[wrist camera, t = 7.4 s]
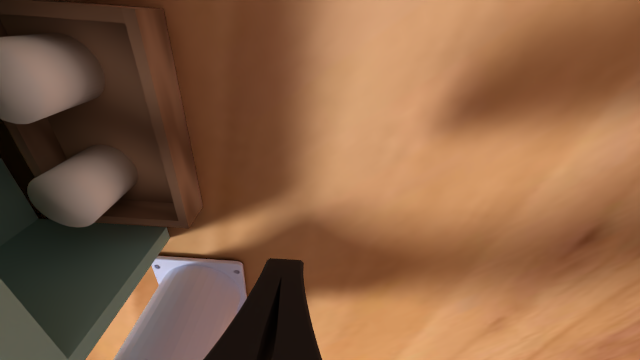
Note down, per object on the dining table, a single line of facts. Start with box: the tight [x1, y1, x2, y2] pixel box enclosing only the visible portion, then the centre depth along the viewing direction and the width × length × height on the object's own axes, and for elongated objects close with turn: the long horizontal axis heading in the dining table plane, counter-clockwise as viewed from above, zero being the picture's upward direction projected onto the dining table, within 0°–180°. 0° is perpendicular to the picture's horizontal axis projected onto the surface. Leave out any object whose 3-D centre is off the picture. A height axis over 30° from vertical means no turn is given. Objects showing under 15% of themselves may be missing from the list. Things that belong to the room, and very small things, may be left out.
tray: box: [0, 0, 203, 228], centre depth 17 cm, size 13×9×2 cm
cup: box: [27, 145, 138, 227], centre depth 17 cm, size 4×4×4 cm
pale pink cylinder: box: [0, 33, 105, 124], centre depth 14 cm, size 4×4×4 cm
